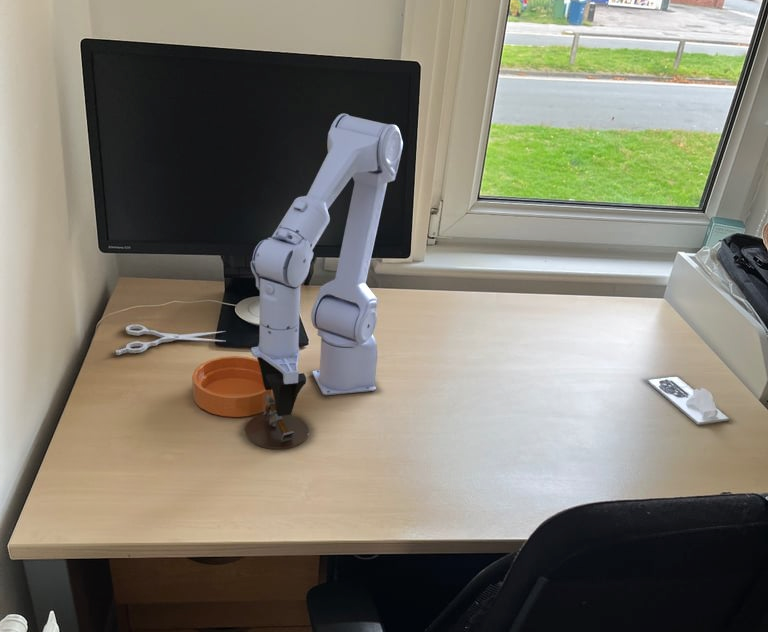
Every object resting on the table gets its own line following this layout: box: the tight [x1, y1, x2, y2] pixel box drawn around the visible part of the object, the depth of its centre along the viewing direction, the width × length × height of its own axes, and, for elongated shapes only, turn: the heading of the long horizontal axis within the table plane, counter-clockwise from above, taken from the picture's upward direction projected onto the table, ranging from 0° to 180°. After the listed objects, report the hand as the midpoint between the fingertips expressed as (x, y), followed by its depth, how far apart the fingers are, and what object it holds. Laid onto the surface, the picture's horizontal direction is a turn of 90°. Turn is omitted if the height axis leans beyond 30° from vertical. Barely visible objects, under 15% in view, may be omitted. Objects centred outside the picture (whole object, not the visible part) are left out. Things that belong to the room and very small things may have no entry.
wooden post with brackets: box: [262, 395, 294, 442], centre depth 129 cm, size 2×8×4 cm, turn 33°
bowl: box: [191, 355, 274, 418], centre depth 136 cm, size 14×14×4 cm
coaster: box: [244, 412, 310, 451], centre depth 130 cm, size 10×10×1 cm
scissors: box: [115, 324, 226, 356], centre depth 152 cm, size 11×1×20 cm
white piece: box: [647, 376, 730, 426], centre depth 149 cm, size 15×7×4 cm, turn 20°
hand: (277, 401), depth 127 cm, fingers open, 7 cm apart
